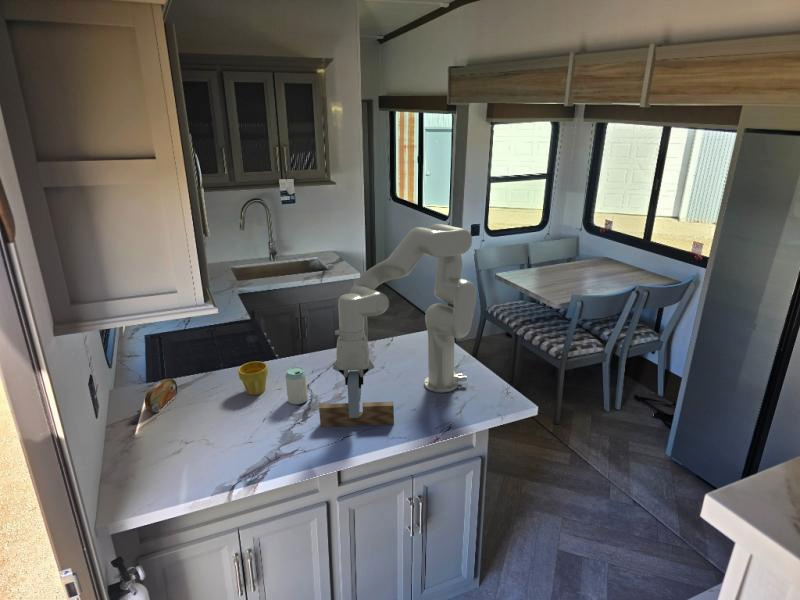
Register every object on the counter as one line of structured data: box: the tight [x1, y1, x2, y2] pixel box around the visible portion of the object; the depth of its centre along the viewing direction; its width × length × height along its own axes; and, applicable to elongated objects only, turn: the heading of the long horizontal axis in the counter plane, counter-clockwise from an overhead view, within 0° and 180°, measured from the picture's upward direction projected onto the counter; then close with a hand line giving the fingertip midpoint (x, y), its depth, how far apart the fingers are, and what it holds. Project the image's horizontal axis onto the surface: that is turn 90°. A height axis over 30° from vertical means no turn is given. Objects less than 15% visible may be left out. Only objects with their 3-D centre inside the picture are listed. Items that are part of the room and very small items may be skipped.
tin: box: [144, 378, 178, 413], centre depth 185 cm, size 15×3×8 cm, turn 168°
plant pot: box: [237, 360, 269, 396], centre depth 193 cm, size 10×10×10 cm
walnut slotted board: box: [318, 401, 395, 428], centre depth 171 cm, size 24×2×7 cm, turn 91°
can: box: [285, 366, 309, 405], centre depth 185 cm, size 7×7×12 cm
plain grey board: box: [346, 370, 362, 418], centre depth 168 cm, size 16×3×12 cm, turn 1°
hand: (354, 386), depth 167 cm, fingers closed on plain grey board, 3 cm apart
